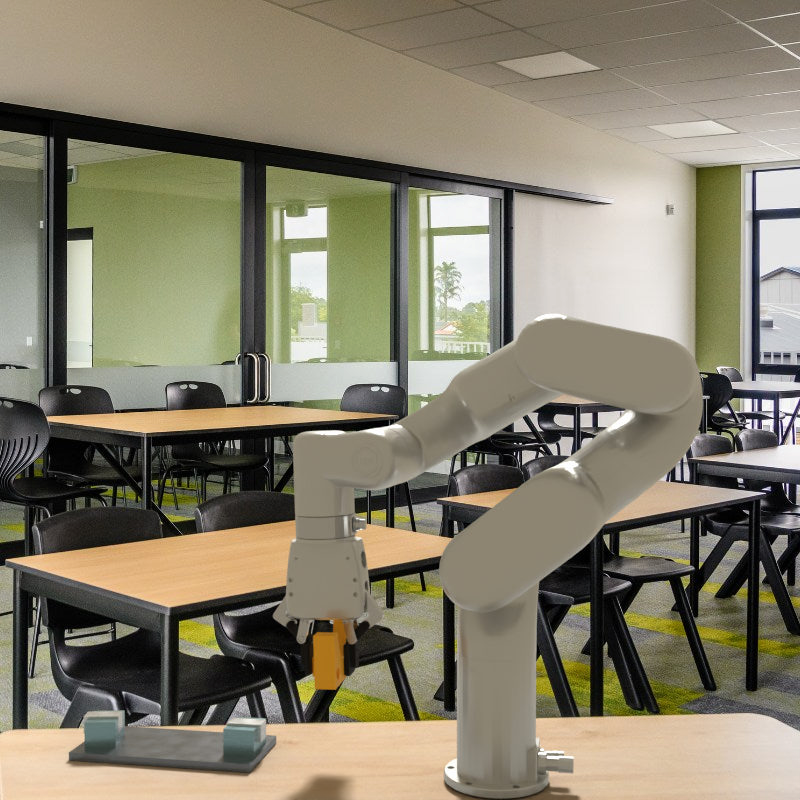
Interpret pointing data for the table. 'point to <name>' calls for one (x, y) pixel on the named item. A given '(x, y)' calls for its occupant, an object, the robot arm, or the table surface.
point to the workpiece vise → (173, 744)
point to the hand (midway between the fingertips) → (330, 671)
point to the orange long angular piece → (329, 657)
